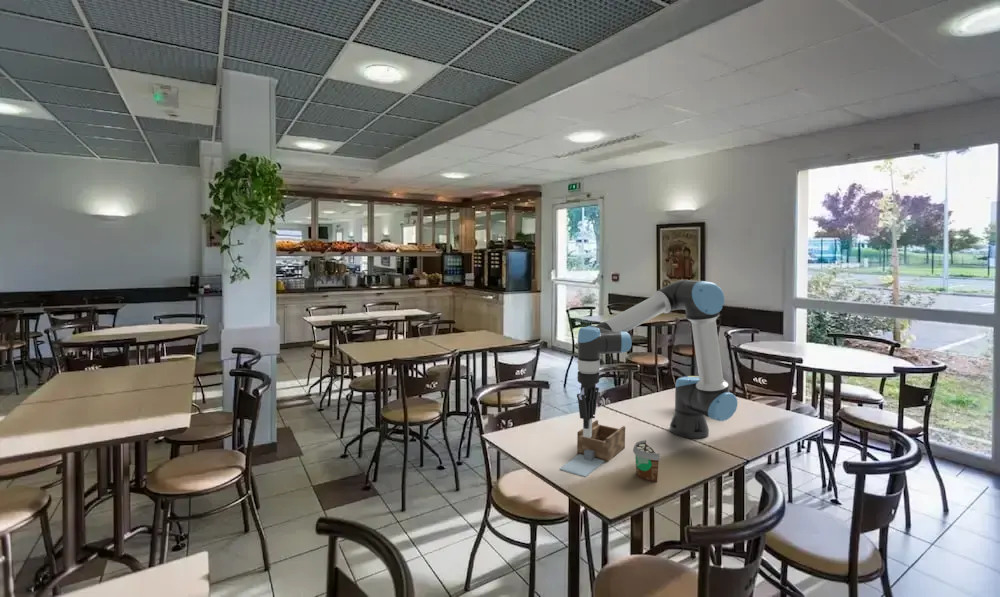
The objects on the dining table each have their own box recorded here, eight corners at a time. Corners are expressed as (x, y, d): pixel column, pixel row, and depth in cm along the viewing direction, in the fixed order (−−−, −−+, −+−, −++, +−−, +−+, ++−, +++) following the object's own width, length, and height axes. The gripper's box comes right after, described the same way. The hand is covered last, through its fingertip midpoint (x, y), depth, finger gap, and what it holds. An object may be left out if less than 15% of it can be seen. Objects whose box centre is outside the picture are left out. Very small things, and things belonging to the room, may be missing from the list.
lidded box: (596, 440, 195) (596, 420, 194) (624, 448, 187) (625, 426, 187) (577, 454, 182) (577, 431, 181) (607, 462, 175) (607, 439, 174)
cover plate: (579, 456, 181) (579, 446, 181) (604, 463, 175) (604, 452, 175) (559, 471, 169) (559, 460, 168) (585, 478, 163) (585, 467, 163)
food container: (627, 468, 170) (628, 440, 169) (644, 467, 170) (645, 439, 169) (640, 484, 158) (641, 454, 157) (659, 484, 158) (659, 454, 157)
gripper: (587, 366, 179) (586, 428, 182) (570, 373, 169) (569, 439, 171) (606, 369, 175) (604, 433, 177) (589, 376, 165) (588, 444, 167)
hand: (587, 436), depth 174 cm, fingers closed
